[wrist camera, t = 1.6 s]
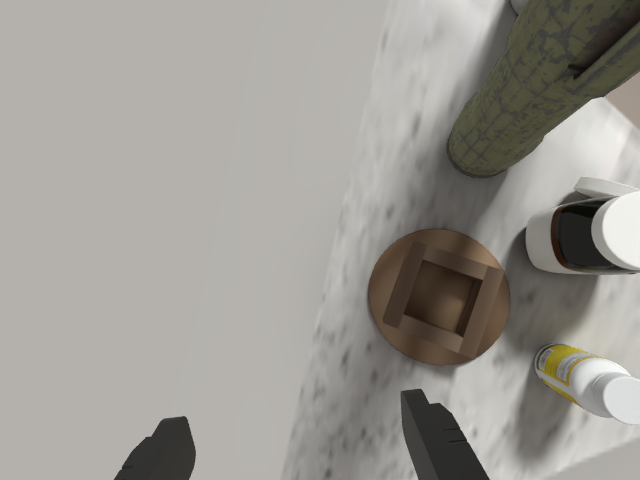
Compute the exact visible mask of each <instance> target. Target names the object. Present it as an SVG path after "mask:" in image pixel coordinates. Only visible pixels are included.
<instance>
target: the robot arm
mask: <svg viewBox="0 0 640 480" xmlns="http://www.w3.org/2000/svg"><path fill="white" fill-rule="evenodd" d="M510 1H511V5H512V7H513V9H514V11H515V12H516V13H517V14H518V15H519V13H520V12H521V10H522V8H523V6H524V5H525V3H526V1H527V0H510ZM401 411H402V426H403V432H404V437H405V441H406V444H407V447H408V450H409V453H410V456H411V459H412V462H413V465H414V468H415V471H416V473H417V476H418V479H419V480H490V479H489V477H488V476H487V474H486V472H485V471H484V469H483V467H482V465H481V464H480V462H479V460H478V458H477V457H476V455H475V453H474V451H473V450H472V448H471V446H470V444H469V443H468V442H467V439H466V437H465V436H464V434H463V432H462V431H461V430H460V427H459V425H458V423H457V422H456V420H455V418H454V416H453V415H452V413H450V412H449V411H448V410H447V409H446V408H445V407H444V406H443V405H441V404H440V403H434V404H429V402H428V400H427V398H426V396H425V394H424V392H423V391H422V389H414V390H406V391H401ZM195 456H196V451H195V446H194V442H193V438H192V435H191V431H190V427H189V424H188V420H187V418H186V417H185V416H183V417H174V418H165V419H163V420H162V421H161V422H160V423H159V425H158V426H157V428H156V430H155V432H154V433H153V435H152V436H151V437H146V438H145V439H144V440H143V441H142V442H141V443H140V444H139V445H138V446H137V447H136V448H135V449H134V450H133V451H132V452H131V454H130V455H129V457H128V458H127V460H126V461H125V463H124V465H123V466H122V470H120V471H119V472H118V474H117V476H116V477H115V479H114V480H189V478H190V476H191V473H192V471H193V468H194V463H195Z"/></svg>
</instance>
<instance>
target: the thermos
mask: <svg viewBox="0 0 640 480" xmlns="http://www.w3.org/2000/svg"><path fill="white" fill-rule="evenodd" d="M639 71H640V0H527V1H526V3H525V5H524V6H523V8H522V10H521V12H520V13H519V15H518V17H517V18H516V20H515V22H514V24H513V26H512V29H511V31H510V33H509V35H508V37H507V47H506V49H505V50H504V52H503V54H502V55H501V57H500V59H499V60H498V62H497V63H496V65H495V67H494V68H493V70H492V72H491V73H490V75H489V77H488V78H487V80H486V81H485V83H484V85H483V86H482V88H481V90H480V91H479V92H478V93H476V94H475V95H474V96H473V97H472V98H471V99H470V100H469V101H468V102H467V103H466V105H465V107H464V108H463V110H462V112H461V114H460V115H459V117H458V119H457V120H456V123H455V125H454V127H453V129H452V132H451V134H450V136H449V138H448V143H447V152H448V156H449V159H450V161H451V162H452V164H453V165H454V167H455V168H457V169H458V170H459V171H461V172H462V173H463V174H466V175H469V176H471V177H478V178H486V177H491V176H495V175H497V174H499V173H501V172H502V171H504V170H506V169H507V168H509V167H511V166H513V165H514V164H516V163H517V162H519V161H520V160H521V159H523V158H524V157H525V156H527V155H528V154H530V153H531V152H532V151H533V150H534V149H535V148H536V147H537V146H538V145H539V144H540V143H541V142H542V140H543V138H544V136H545V135H546V134H547V133H549V132H550V131H551V130H552V129H554V128H555V127H556V126H558V125H559V124H560V123H561V122H563V121H564V120H565V119H567V118H568V117H569V116H571V115H572V114H573V113H574V112H576V111H577V110H578V109H580V108H581V107H582V106H583V105H585V104H586V103H587V102H589V101H590V100H591V99H595V98H599V97H604V96H605V95H606V94H608V93H609V92H610V91H612V90H614V89H616V88H617V87H619V86H620V85H622V84H623V83H625V82H626V81H627V80H629V79H630V78H631V77H633V76H634V75H635V74H637V73H638V72H639Z"/></svg>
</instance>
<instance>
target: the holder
mask: <svg viewBox="0 0 640 480" xmlns="http://www.w3.org/2000/svg"><path fill="white" fill-rule="evenodd" d="M369 301H370V308H371V312H372V315H373V318H374V320H375V323H376V324H377V326H378V328H379V330H380V331H381V333H382V334H383V335H384V337H385V338H386V339H387V340H388V341H389V342H390V343H391V344H392V345H393V346H394V347H395V348H396V349H397V350H399V351H400V352H402V353H403V354H405V355H407V356H409V357H411V358H413V359H415V360H418V361H421V362H423V363H428V364H433V365H453V364H459V363H463V362H466V361H469V360H471V359H475V357H477V356H479V355H481V354H482V353H484V352H485V351H486V350H487V349H489V348H490V347H491V346H492V345H493V344H494V343H495V341H496V340H497V339H498V338H499V336H500V335H501V333H502V331H503V329H504V327H505V325H506V322H507V319H508V315H509V310H510V291H509V286H508V282H507V279H506V276H505V274H504V271H503V270H502V267H501V266H500V264H499V263H498V261H497V260H496V258H495V257H494V256H493V255H492V254H491V253H490V252H489V251H488V250H487V249H486V248H485V247H484V246H483V245H481V244H480V243H478V242H477V241H476V240H474V239H472V238H470V237H468V236H466V235H463V234H461V233H458V232H454V231H450V230H443V229H429V230H422V231H418V232H414V233H411V234H409V235H406V236H404V237H402V238H401V239H399V240H397V241H396V242H395V243H393V244H392V245H391V246H390V247H389V248H388V249H387V250H386V251H385V252H384V253H383V254H382V255H381V257H380V258H379V260H378V262H377V263H376V265H375V267H374V270H373V272H372V275H371V279H370V285H369Z"/></svg>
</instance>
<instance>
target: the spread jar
mask: <svg viewBox="0 0 640 480" xmlns="http://www.w3.org/2000/svg"><path fill="white" fill-rule="evenodd" d="M574 190H576V191H578V192H580V193H582V194H584V195H587V196H589V197H592V199H586V200H581V201H575V202H571V203H567V204H563V205H560V206H557V207H554V208H551V209H548V210H545V211H542V212H540V213H538V214H536V215H534V216H533V217H532V218H531V219H530V220H529V222H528V224H527V228H526V248H527V252H528V256H529V258H530V260H531V262H532V264H533V265H534V266H535V267H537V268H538V269H541V270H544V271H548V272H554V273H563V274H596V275H618V274H636V273H640V189H637V188H634V187H631V186H628V185H624V184H621V183H617V182H613V181H609V180H604V179H599V178H593V177H580V179H579V181H578V182H577V184H576V185H575V187H574Z"/></svg>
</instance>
